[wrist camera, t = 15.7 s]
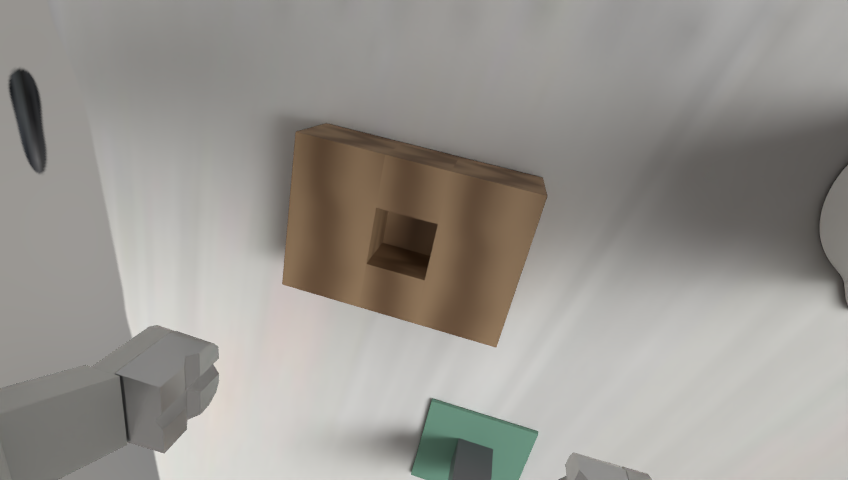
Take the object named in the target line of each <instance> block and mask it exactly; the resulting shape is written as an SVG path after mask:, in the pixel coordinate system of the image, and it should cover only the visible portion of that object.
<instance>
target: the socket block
mask: <svg viewBox="0 0 848 480" xmlns="http://www.w3.org/2000/svg"><path fill="white" fill-rule="evenodd" d="M546 199H547V192H546V188H545V184H544V180H543V178H542V177H538V176H534V175H530V174H526V173H522V172H518V171H514V170H510V169H506V168H502V167H498V166H494V165H490V164H486V163H482V162H478V161H474V160H470V159H466V158H463V157H459V156H455V155H451V154H447V153H443V152H439V151H435V150H431V149H427V148H423V147H419V146H415V145H411V144H407V143H403V142H399V141H395V140H391V139H387V138H383V137H379V136H375V135H371V134H367V133H363V132H359V131H355V130H351V129H347V128H343V127H339V126H335V125H331V124H327V123H325V124H322V125H318V126H314V127H311V128H307V129H304V130H300V131H296V133H295V145H294V156H293V167H292V179H291V190H290V202H289V213H288V225H287V236H286V247H285V259H284V270H283V282H282V284H283V285H286V286H290V287H293V288H297V289H300V290H303V291H307V292H310V293H313V294H317V295H320V296H324V297H327V298H330V299H334V300H337V301H341V302H344V303H347V304H351V305H354V306H357V307H361V308H364V309H368V310H371V311H374V312H378V313H381V314H385V315H388V316H391V317H395V318H398V319H402V320H405V321H408V322H412V323H415V324H418V325H422V326H425V327H429V328H432V329H435V330H439V331H442V332H446V333H449V334H452V335H456V336H459V337H462V338H466V339H469V340H473V341H476V342H479V343H483V344H486V345H490V346H493V347H497V344H498V341H499V338H500V335H501V332H502V329H503V326H504V323H505V320H506V317H507V314H508V311H509V308H510V305H511V302H512V299H513V296H514V293H515V291H516V288H517V285H518V282H519V279H520V276H521V273H522V270H523V267H524V264H525V261H526V258H527V255H528V252H529V249H530V246H531V243H532V240H533V237H534V234H535V231H536V228H537V225H538V222H539V220H540V217H541V214H542V211H543V208H544V205H545V202H546Z"/></svg>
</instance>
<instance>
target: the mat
mask: <svg viewBox="0 0 848 480" xmlns="http://www.w3.org/2000/svg"><path fill="white" fill-rule="evenodd" d="M537 436H538V431H535V430H532V429H528V428H525V427H522V426H519V425H516V424H512V423H509V422H506V421H503V420H500V419H496V418H493V417H490V416H487V415H484V414H480V413H477V412H474V411H471V410H468V409H464V408H461V407H458V406H455V405H452V404H448V403H445V402H442V401H439V400H436V399H432V401H431V405H430V408H429V412H428V416H427V419H426V423H425V426H424V430H423V433H422V437H421V440H420V444H419V448H418V451H417V455H416V458H415V462H414V465H413V469H412V472H411V475H414V476H417V477H420V478H423V479H426V480H448V477H449V471H450V465H451V461H452V458H453V455H454V452H455V449H456V446H457V443H458V439H459V438H460V439H463V440H466V441H469V442H473V443H476V444H479V445H482V446H485V447H488V448H491V449H493V461H492V477H491V480H519V478H520V475H521V473H522V471H523V468H524V466H525V464H526V461H527V459H528V457H529V454H530V452H531V450H532V447H533V445H534V443H535V440H536V438H537Z"/></svg>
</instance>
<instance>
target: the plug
mask: <svg viewBox="0 0 848 480" xmlns="http://www.w3.org/2000/svg"><path fill="white" fill-rule="evenodd" d="M492 461H493V449H491V448H488V447H485V446H482V445H479V444H476V443H473V442H469V441H466V440H463V439H460V438H459V439H458V443H457V446H456V449H455V452H454V455H453V458H452V461H451V465H450V471H449V477H448V480H491V477H492Z"/></svg>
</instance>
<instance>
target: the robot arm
mask: <svg viewBox="0 0 848 480" xmlns="http://www.w3.org/2000/svg"><path fill="white" fill-rule="evenodd" d="M820 238H821V243H822V246H823V249H824V252H825V254H826V256H827V258H828V259H829V261H830V262H831V264H832V265H833V266H834V267H835V269H836V270H837V271H838V272H839V274H840V275H841V277H842V279H843V281H844V288H845V297H846V301H847V304H848V165H847V166H846V167H845V168H844V170H843V171H842V172H841V173H840V175H839V176H838V177H837V179H836V180H835V182H834V183H833V185H832V187H831V189H830V190H829V193H828V195H827V197H826V199H825V202H824V205H823V208H822V212H821V217H820ZM218 359H219V352H218V346H217V345H215V344H214V343H211V342H208V341H205V340H202V339H199V338H196V337H193V336H190V335H187V334H184V333H181V332H178V331H173V330H170V329H167V328H164V327H161V326H158V325H155V326H150V327H148V328H147V329H145V330H144V331H142V332H141V333H139V334H138V335H137V336H135V337H134V338H132V339H131V340H129V341H128V342H126V343H125V344H123V345H122V346H121V347H119V348H118V349H116V350H115V351H114V352H112V353H111V354H109V355H108V356H106V357H105V358H103V359H102V360H100V361H99V362H97V363H96V364H95V365H93V366H92V367H90V366H86V365H83V366H79V367H76V368H72V369H68V370H65V371H61V372H57V373H54V374H50V375H46V376H43V377H39V378H36V379H32V380H28V381H24V382H21V383H17V384H13V385H10V386H6V387H2V388H0V480H58V479H60V478H62V477H64V476H66V475H68V474H70V473H72V472H74V471H76V470H78V469H80V468H82V467H84V466H86V465H88V464H90V463H92V462H94V461H96V460H98V459H100V458H102V457H104V456H106V455H108V454H110V453H112V452H114V451H116V450H118V449H120V448H122V447H124V446H126V445H127V442H129V443H132V444H135V445H138V446H142V447H145V448H148V449H152V450H155V451H158V452H161V453H165V452H166V451H167V450H168V449H169V448H170V447H171V446H172V445H173V444H174V443H175V441H176V440H177V439H178V438H179V437H180V436H181V435H182V434H183V433H184V432H185V431H186V430H187V420H188V419H190V418H193V417H195V416H197V415H200V414H201V413H202V412H203V411H204V410H205V409H206V408H207V406H208V405H209V404H210V402H211V400H212V399H213V397H214V395H215V393H216V390H217V386H218V383H219V373H218V372H217V370H216V368H215V367H214V365H213V363H214V362H215V361H217V360H218ZM565 467H566V475H567V476H565V477H563V478H561V479H559V480H652V479H651V478H650V476H649V475H648V474H646V473H643V472H639V471H636V470H632V469H629V468H626V467H620V466H618V465H615V464H611V463H608V462H605V461H601V460H598V459H594V458H591V457H587V456H584V455H581V454H577V453H574V452H573V453H572V454H571V455H570V456H569V458H568V460H567V462H566V464H565Z"/></svg>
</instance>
